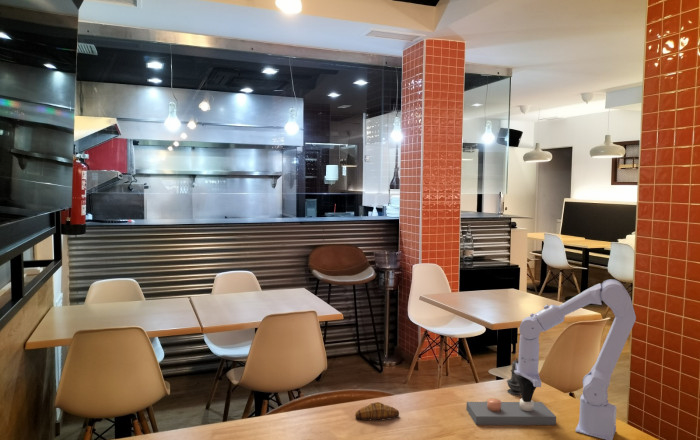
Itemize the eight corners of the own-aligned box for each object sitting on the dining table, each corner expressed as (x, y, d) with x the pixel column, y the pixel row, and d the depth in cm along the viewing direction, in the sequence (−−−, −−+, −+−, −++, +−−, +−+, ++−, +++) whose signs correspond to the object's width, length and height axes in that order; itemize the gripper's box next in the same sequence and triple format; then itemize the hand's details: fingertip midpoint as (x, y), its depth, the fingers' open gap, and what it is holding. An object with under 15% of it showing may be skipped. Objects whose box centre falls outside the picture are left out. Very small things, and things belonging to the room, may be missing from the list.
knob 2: (529, 413, 151) (530, 398, 151) (535, 419, 147) (535, 403, 147) (517, 413, 151) (517, 398, 150) (522, 419, 147) (522, 403, 146)
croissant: (357, 425, 142) (357, 408, 142) (353, 414, 149) (353, 398, 148) (402, 422, 144) (402, 406, 144) (396, 412, 151) (396, 396, 151)
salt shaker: (521, 389, 170) (523, 355, 169) (526, 396, 164) (527, 361, 163) (504, 388, 171) (506, 354, 170) (508, 395, 165) (509, 360, 164)
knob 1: (497, 413, 151) (498, 398, 150) (502, 419, 147) (503, 404, 146) (485, 413, 150) (485, 398, 150) (489, 419, 146) (489, 404, 146)
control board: (541, 409, 154) (541, 402, 154) (555, 424, 144) (556, 416, 144) (466, 409, 153) (466, 401, 153) (475, 424, 143) (476, 416, 143)
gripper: (506, 349, 155) (505, 391, 156) (525, 365, 140) (523, 411, 141) (528, 349, 155) (526, 391, 156) (549, 365, 141) (546, 411, 141)
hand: (526, 400), depth 149 cm, fingers closed, pressing on knob 2
